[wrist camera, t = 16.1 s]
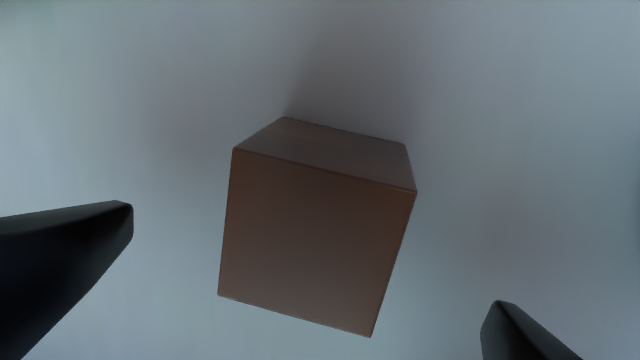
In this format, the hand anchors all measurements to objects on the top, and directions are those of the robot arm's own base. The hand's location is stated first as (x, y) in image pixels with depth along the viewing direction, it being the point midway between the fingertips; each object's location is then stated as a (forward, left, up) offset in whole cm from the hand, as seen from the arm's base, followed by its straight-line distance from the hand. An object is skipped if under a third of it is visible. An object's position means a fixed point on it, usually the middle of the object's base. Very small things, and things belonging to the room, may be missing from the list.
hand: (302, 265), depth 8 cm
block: (0, 0, -5) cm, 5 cm away
